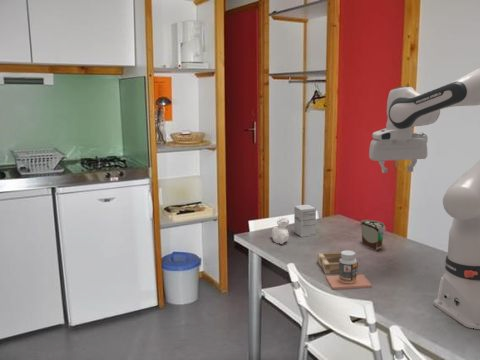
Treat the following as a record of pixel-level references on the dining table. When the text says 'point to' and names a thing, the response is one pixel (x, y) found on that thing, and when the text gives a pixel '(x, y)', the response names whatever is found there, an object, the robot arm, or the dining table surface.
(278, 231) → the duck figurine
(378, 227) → the food container
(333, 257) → the block
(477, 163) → the robot arm
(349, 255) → the pill bottle
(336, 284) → the mat
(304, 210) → the supplement box
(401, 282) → the dining table surface
